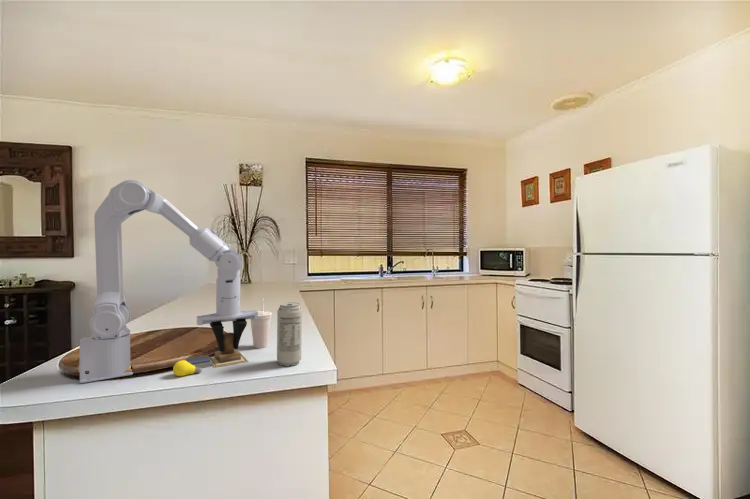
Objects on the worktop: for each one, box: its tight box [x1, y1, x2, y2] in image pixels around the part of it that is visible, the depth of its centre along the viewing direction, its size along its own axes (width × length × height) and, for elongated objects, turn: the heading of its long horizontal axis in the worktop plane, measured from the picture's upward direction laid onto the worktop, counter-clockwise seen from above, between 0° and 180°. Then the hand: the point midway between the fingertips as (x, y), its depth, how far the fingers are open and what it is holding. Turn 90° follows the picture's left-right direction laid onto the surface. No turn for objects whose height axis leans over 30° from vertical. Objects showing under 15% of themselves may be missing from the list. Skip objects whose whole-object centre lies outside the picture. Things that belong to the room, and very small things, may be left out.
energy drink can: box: [276, 302, 303, 367], centre depth 94 cm, size 6×6×15 cm
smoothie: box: [249, 297, 273, 349], centre depth 107 cm, size 6×6×14 cm
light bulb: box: [172, 359, 202, 377], centre depth 85 cm, size 3×6×4 cm, turn 117°
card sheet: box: [209, 353, 249, 368], centre depth 96 cm, size 8×8×1 cm
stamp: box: [214, 332, 242, 363], centre depth 96 cm, size 5×5×6 cm
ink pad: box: [183, 354, 214, 369], centre depth 92 cm, size 6×6×1 cm
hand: (228, 349), depth 96 cm, fingers closed on stamp, 3 cm apart
